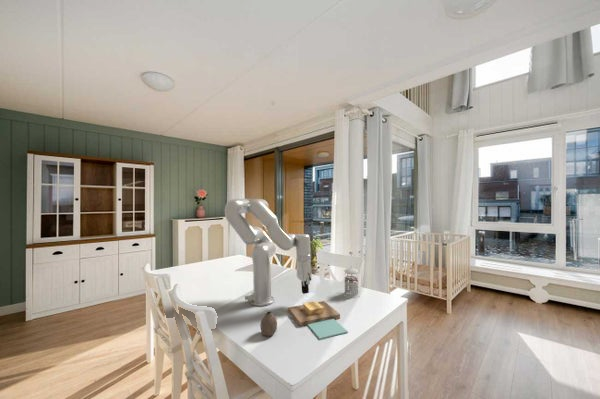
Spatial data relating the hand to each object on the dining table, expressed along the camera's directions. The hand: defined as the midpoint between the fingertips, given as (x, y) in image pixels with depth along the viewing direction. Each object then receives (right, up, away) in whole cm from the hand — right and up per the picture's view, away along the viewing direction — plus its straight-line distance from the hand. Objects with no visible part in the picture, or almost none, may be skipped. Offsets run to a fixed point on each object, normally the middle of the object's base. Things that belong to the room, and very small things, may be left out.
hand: (305, 292), depth 130 cm
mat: (+9, -7, -24) cm, 26 cm away
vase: (-16, -7, -27) cm, 32 cm away
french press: (+27, -6, +15) cm, 31 cm away
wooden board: (+4, -7, -11) cm, 13 cm away
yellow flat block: (+4, -5, -11) cm, 12 cm away
